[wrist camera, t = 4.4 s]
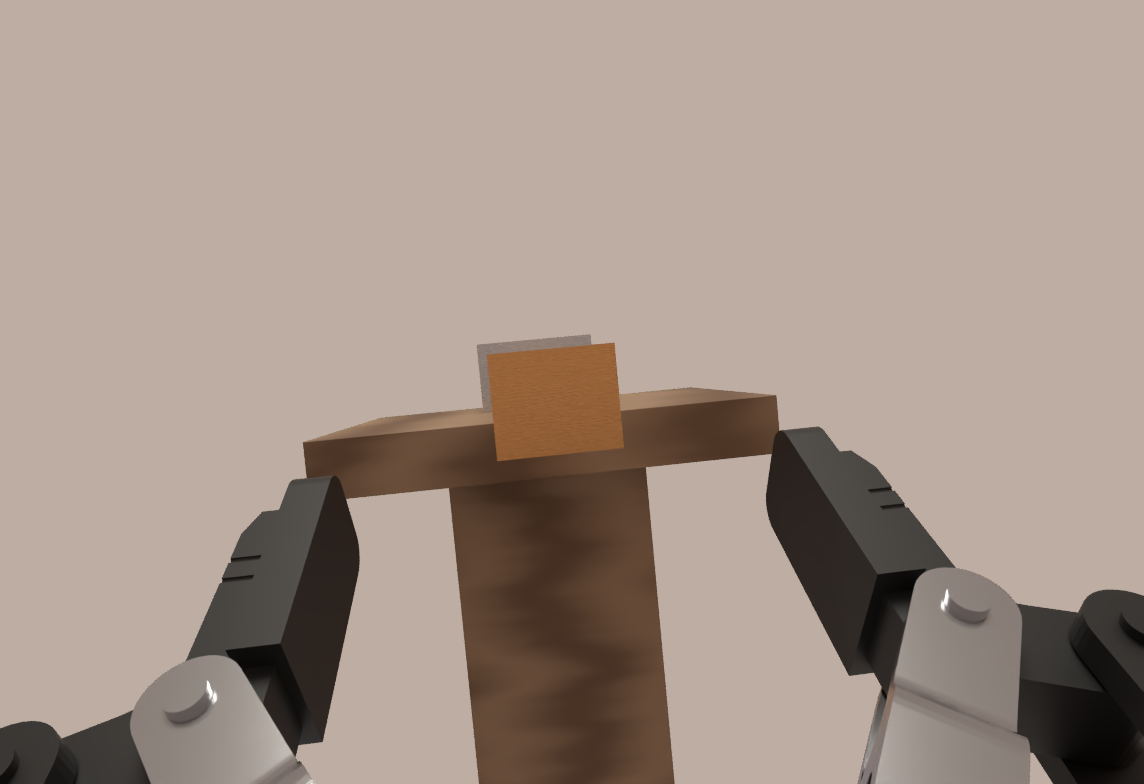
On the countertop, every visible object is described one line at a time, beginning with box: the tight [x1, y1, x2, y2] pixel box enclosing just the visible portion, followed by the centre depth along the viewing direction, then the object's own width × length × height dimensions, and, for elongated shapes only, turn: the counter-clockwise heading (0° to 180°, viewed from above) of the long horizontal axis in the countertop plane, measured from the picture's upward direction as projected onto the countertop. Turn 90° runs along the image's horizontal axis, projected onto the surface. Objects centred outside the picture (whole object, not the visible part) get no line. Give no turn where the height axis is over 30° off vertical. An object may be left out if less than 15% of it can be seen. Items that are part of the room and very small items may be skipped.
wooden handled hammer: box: [477, 335, 624, 461], centre depth 24 cm, size 5×22×3 cm, turn 4°
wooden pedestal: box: [303, 388, 779, 784], centre depth 29 cm, size 16×12×32 cm
